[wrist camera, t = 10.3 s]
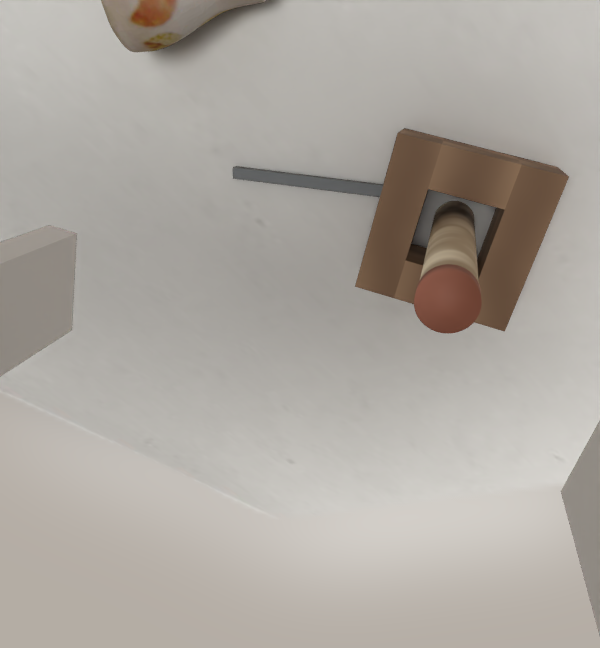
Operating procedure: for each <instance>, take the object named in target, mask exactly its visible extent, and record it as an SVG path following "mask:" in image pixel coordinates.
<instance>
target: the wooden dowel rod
mask: <svg viewBox="0 0 600 648" xmlns="http://www.w3.org/2000/svg"><path fill="white" fill-rule="evenodd" d="M481 304H482V301H481V289H480V285H479V279H478V266H477V253H476V239H475V226H474V215H473V212H472V210H471V209H470V208H469V207H468V206H467V205H466V204H464V203H462V202H459V201H450V202H447V203H445V204H443V205H442V206H440V207H439V209H438V210H437V211H436V213H435V216H434V220H433V224H432V229H431V233H430V238H429V242H428V246H427V251H426V255H425V259H424V264H423V268H422V273H421V277H420V281H419V283H418V285H417V289H416V293H415V298H414V307H415V311H416V314H417V316H418V318H419V319H420V321H421V322H422V323H423V324H424V325H425V326H427V327H428V328H430V329H432V330H434V331H436V332H440V333H455V332H459V331H462V330H464V329H466V328H467V327H469V326H470V325H471V324H472V323H473V322H474V321H475V320H476V319H477V317H478V315H479V313H480V310H481Z"/></svg>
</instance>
